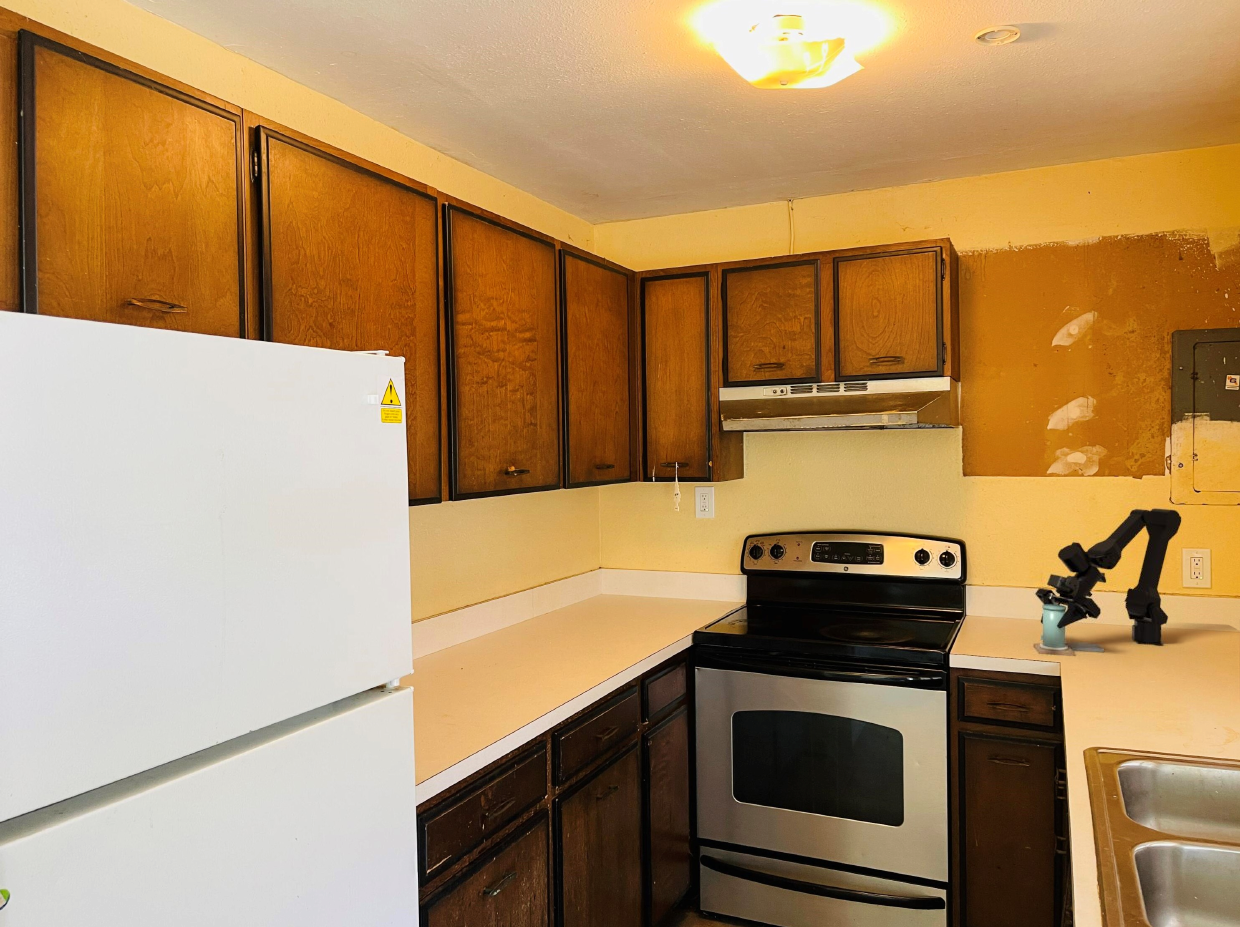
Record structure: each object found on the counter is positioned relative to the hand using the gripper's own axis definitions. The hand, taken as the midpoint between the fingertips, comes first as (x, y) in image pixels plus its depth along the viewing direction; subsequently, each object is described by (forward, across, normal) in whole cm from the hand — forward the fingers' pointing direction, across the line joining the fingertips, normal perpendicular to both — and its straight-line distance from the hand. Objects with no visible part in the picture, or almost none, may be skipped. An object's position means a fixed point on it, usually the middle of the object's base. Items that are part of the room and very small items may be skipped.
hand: (1049, 625), depth 248 cm
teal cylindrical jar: (+3, 0, +5) cm, 6 cm away
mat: (-4, 0, +14) cm, 14 cm away
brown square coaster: (+4, 0, +6) cm, 7 cm away
